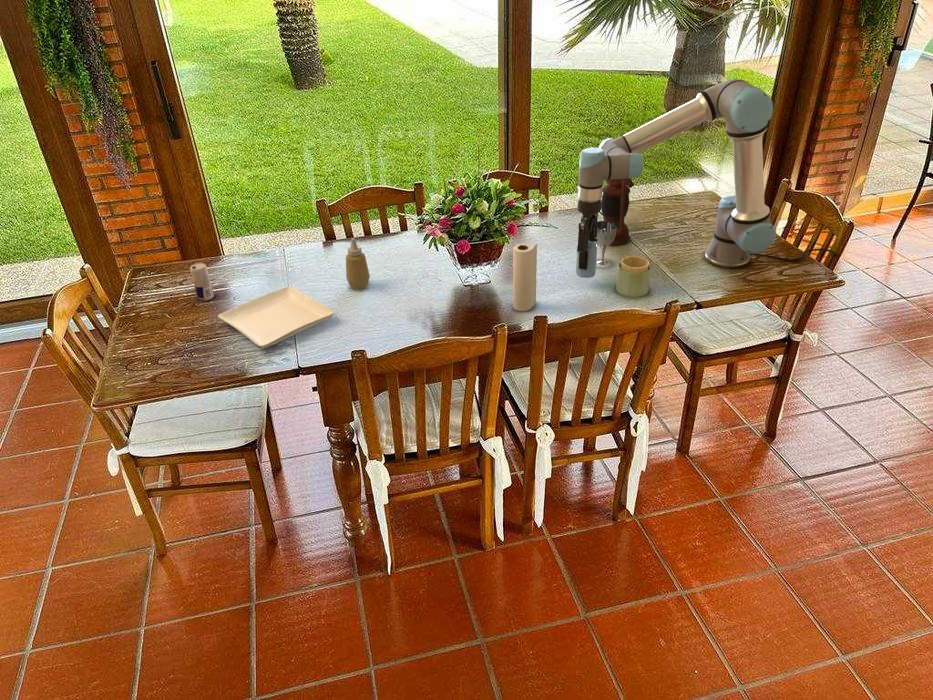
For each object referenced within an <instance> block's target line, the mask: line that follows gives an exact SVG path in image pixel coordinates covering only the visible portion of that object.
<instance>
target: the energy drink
mask: <svg viewBox="0 0 933 700" xmlns="http://www.w3.org/2000/svg"><path fill="white" fill-rule="evenodd" d="M189 271H190V275H191V278H192V283H193V286H194V290H195V293H196V297H197V299H198V300H199V301H200V302H207V301H209V300H212V299H213V298H214V297H215V294H214V289H213V287H212V286H213V285H212V282H211V279H210V275H209V271H208V267H207V265H206V263H203V262H197V263H194V264H191V265H190V267H189Z"/></svg>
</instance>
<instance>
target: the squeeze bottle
mask: <svg viewBox="0 0 933 700" xmlns="http://www.w3.org/2000/svg"><path fill="white" fill-rule="evenodd" d="M345 272H346V273H345V274H346V275H345V277H346V280H347V283H348V284H349V286H350V288H351V289H352V290H355V291H360V290H364V289H366V288H368V286H369V281H370V277H371V275H370V270H369V267H368V262H367V258H366V254H365V253H364V252H363V250H362V247H361V246H359V245H358V244H357V241H356V238H355V237H353V238H351V240H350V247H348V248H347V254H346V256H345Z"/></svg>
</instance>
